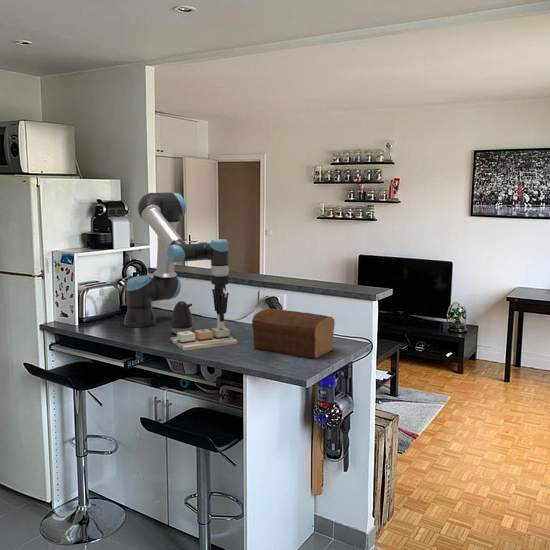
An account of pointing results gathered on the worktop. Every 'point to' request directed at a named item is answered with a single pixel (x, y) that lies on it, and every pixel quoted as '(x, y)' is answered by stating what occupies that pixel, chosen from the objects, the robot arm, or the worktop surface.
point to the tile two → (203, 334)
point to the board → (204, 342)
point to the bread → (293, 332)
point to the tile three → (221, 332)
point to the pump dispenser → (181, 318)
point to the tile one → (185, 336)
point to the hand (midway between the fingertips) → (220, 328)
